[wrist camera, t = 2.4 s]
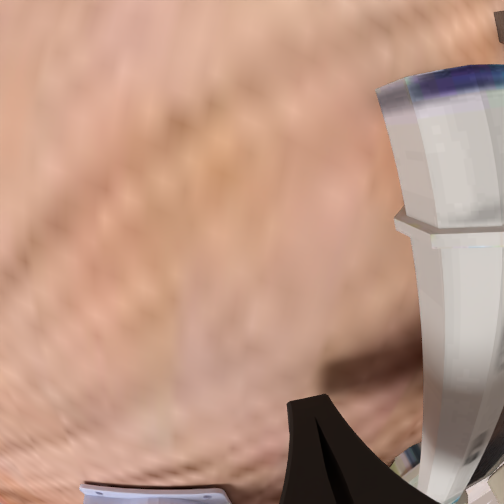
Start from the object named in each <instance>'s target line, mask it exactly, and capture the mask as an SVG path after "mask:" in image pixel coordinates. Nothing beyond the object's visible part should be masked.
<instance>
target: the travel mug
mask: <svg viewBox="0 0 504 504" xmlns="http://www.w3.org/2000/svg"><path fill="white" fill-rule="evenodd" d="M488 484H489V486H490V488H491V490H492V492H493V493H494V495H495V497H496V499H497V501H498V503H499V504H504V464H503V465H502V466H501V467H500V468H499V469H498V470H497V471H496V472H494V473H493V474H492V475H491V477H490V478H489V480H488Z"/></svg>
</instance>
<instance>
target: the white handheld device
mask: <svg viewBox="0 0 504 504" xmlns="http://www.w3.org/2000/svg"><path fill="white" fill-rule="evenodd" d="M375 91H376V94H377V97H378V100H379V104H380V107H381V110H382V114H383V117H384V120H385V124H386V127H387V131H388V135H389V138H390V142H391V146H392V150H393V154H394V158H395V162H396V167H397V171H398V175H399V180H400V185H401V189H402V194H403V199H404V206H403V207H402V209H401V210H400V211H399V212H398V213H397V215H396V216H395V217H394V223H395V228H396V230H397V231H399V232H401V233H403V234H405V235H407V236H409V237H410V239H411V245H412V251H413V257H414V264H415V272H416V279H417V288H418V297H419V307H420V318H421V331H422V349H423V429H422V442H420V443H418V444H416V445H413V446H411V447H410V448H408V449H407V450H405V451H404V452H403V453H401V454H400V455H398V456H397V457H396V458H395V461H394V463H393V464H392V466H391V467H389V468H390V469H391V470H393V471H394V472H395V473H396V474H397V475H399V476H400V477H401V478H402V479H404V480H405V481H406V482H408V483H409V484H410V485H412V486H413V487H415V488H416V489H418V490H419V491H421V492H422V493H424V494H426V495H427V496H429V497H430V498H432V499H433V500H435V501H437V502H439V503H441V504H468V495H467V492H466V490H465V488H466V486H467V484H468V482H469V481H470V479H471V477H472V475H473V473H474V471H475V469H476V467H477V465H478V463H479V461H480V459H481V457H482V455H483V453H484V451H485V449H486V447H487V445H488V443H489V440H490V438H491V436H492V434H493V431H494V429H495V426H496V424H497V422H498V419H499V417H500V414H501V411H502V409H503V406H504V65H500V64H487V65H467V66H461V67H455V68H449V69H443V70H438V71H433V72H428V73H423V74H418V75H414V76H409V77H405V78H402V79H399V80H397V81H394V82H392V83H389V84H387V85H384V86H382V87H380V88H377V89H375Z"/></svg>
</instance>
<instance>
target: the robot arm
mask: <svg viewBox="0 0 504 504" xmlns="http://www.w3.org/2000/svg"><path fill="white" fill-rule="evenodd" d="M287 412H288V423H289V433H290V440H289V453H288V462H287V469H286V475H285V481H284V486H283V490H282V495H281V499H280V503H279V504H441V503H439V502H437V501H435V500H433V499H432V498H430V497H429V496H427V495H426V494H424V493H422V492H421V491H419V490H418V489H416V488H415V487H413V486H412V485H410V484H409V483H408V482H406V481H405V480H404V479H402V478H401V477H400V476H399V475H397V474H396V473H395V472H394V471H393V470H391V469H390V468H389V467H388V466H387V465H386V464H385V463H383V462H382V461H381V460H380V459H379V458H378V457H377V456H376V455H375V454H374V453H373V452H372V451H371V450H370V449H369V448H368V447H367V446H366V445H365V443H364V442H363V441H362V440H361V439H360V438H359V437H358V435H357V434H356V433H355V432H354V431H353V430H352V428H351V427H350V426H349V425H348V423H347V422H346V421H345V420H344V418H343V417H342V416H341V414H340V413H339V411H338V410H337V409H336V407H335V406H334V404H333V403H332V401H331V399H330V398H329V396H328V395H326V394H322V395H318V396H313V397H308V398H304V399H299V400H294V401H290V402H288V403H287ZM79 489H80V491H81V492H83V493H84V494H85V496H84V502H83V504H232V503H231V501H230V500H229V498H228V496H227V494H226V493H225V491H224V490H223V489H220V488H208V489H184V490H154V489H130V488H116V487H105V486H96V485H88V484H80V488H79Z"/></svg>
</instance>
